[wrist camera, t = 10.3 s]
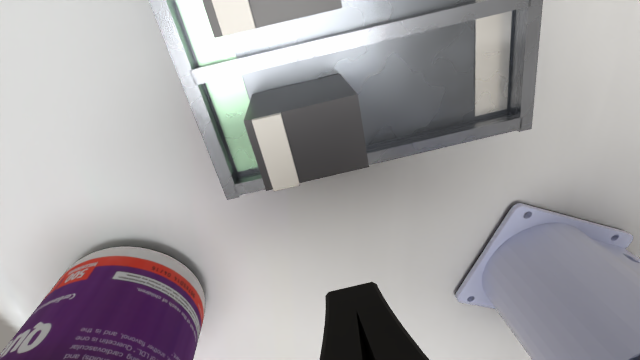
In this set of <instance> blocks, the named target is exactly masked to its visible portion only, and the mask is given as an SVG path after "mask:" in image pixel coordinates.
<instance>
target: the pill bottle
mask: <svg viewBox="0 0 640 360" xmlns="http://www.w3.org/2000/svg"><path fill="white" fill-rule="evenodd" d="M204 313H205V296H204V292H203V289H202V287H201V285H200V283H199V281H198V279H197V278H196V276H195V275H194V274H193V273H192V272H191V271H190V270H189V269H188V268H187V267H186V266H185V265H183V264H182V263H181V262H179V261H178V260H176V259H174V258H172V257H170V256H168V255H166V254H163V253H161V252H158V251H154V250H150V249H145V248H139V247H113V248H107V249H103V250H99V251H96V252H93V253H91V254H89V255H87V256H85V257H83V258H81V259H80V260H78V261H77V262H76V263H74V264H73V265H72V266H71V267H70V268H69V269H68V270H67V271H66V272H65V273H64V275H63V276H62V277H61V278H60V279H59V281H58V282H57V283H56V285H55V286H54V287H53V288H52V290H51V291H50V292H49V293H48V295H47V296H46V297H45V298H44V300H43V301H42V302H41V304H40V305H39V306H38V307H37V309H36V310H35V311H34V312H33V314H32V315H31V316H30V317H29V319H28V320H27V321H26V322H25V324H24V325H23V326H22V327H21V329H20V330H19V331H18V333H17V334H16V335H15V336H14V338H13V339H12V340H11V341H10V343H9V344H8V345H7V346H6V348H5V349H4V350H3V351H2V352H1V354H0V360H193V358H194V354H195V350H196V346H197V342H198V338H199V334H200V331H201V327H202V323H203V318H204Z"/></svg>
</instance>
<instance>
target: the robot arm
mask: <svg viewBox="0 0 640 360" xmlns="http://www.w3.org/2000/svg"><path fill="white" fill-rule="evenodd" d="M526 212H527V213H526ZM525 213H526V214H525ZM524 214H525V215H524ZM632 240H633V235H631V234H630V233H628V232H626V231H623V230H619V229H615V228H611V227H608V226H604V225H600V224H597V223H593V222H589V221H585V220H582V219H578V218H574V217H571V216H567V215H563V214H559V213H556V212H552V211H548V210H545V209H541V208H537V207H533V206H530V205H526V204H522V203H518V204H515V205H514V206H512V208H511V209H510V210H509V212H508V213H507V215H506V217H505V218H504V220H503V221H502V223H501V224H500V226H499V227H498V229H497V230H496V232H495V234H494V235H493V237H492V238H491V240H490V241H489V243H488V244H487V246H486V247H485V249H484V251H483V252H482V254H481V255H480V257H479V258H478V260H477V261H476V263H475V264H474V266H473V268H472V269H471V271H470V272H469V274H468V275H467V277H466V278H465V280H464V281H463V283H462V285H461V286H460V288H459V289H458V291H457V292H456V294H455V297H456V299H457V300H458V301H459V302H461V303H466V304H472V305H478V306H483V307H489V308H494V309H497V311H498V312H499V314H500V315H501V317H502V318H503V319H504V321H505V322H506V324H507V325H508V326H509V328H510V329H511V331H512V332H513V333H514V335H515V336H516V338H517V339H518V340H519V342H520V343H521V345H522V346H523V347H524V349H525V350H526V352H527V353H528V355H529V356H530V357H531V359H532V360H640V259H639V258H637V257H636V256H635V255H633V254H632V253H630V252H629V251H628V250H626V248H627V247H628V245H629V244H630V243H631V242H632ZM320 360H429V359H428V358H427V356H426V355H425V354H424V353H423V352H422V350H421V349H420V348H419V346H418V345H417V344H416V343H415V341H414V340H413V339H412V338H411V336H410V335H409V334H408V332H407V331H406V330H405V328H404V327H403V326H402V324H401V323H400V322H399V320H398V319H397V317H396V316H395V314H394V313H393V311H392V310H391V308H390V307H389V305H388V304H387V302H386V301H385V299H384V297H383V296H382V294H381V292H380V290H379V288H378V286H377V284H375V283H373V282H370V283H365V284H361V285H357V286H353V287H348V288H344V289H340V290H335V291H331V292H328V294H327V295H326V315H325V327H324V335H323V343H322V349H321V355H320Z"/></svg>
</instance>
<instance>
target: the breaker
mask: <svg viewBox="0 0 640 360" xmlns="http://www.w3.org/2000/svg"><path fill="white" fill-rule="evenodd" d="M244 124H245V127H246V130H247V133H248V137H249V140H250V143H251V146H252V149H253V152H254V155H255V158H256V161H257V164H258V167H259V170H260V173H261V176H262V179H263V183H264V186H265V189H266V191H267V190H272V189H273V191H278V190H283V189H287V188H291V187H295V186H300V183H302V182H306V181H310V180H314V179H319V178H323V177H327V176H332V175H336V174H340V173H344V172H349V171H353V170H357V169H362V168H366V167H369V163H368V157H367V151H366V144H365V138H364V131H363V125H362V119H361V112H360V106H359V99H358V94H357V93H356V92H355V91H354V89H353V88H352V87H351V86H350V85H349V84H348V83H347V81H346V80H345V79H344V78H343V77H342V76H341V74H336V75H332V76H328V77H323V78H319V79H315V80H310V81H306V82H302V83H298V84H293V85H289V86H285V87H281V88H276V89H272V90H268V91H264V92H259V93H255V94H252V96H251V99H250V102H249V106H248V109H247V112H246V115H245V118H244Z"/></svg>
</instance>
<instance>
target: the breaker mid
mask: <svg viewBox="0 0 640 360" xmlns="http://www.w3.org/2000/svg"><path fill="white" fill-rule="evenodd" d="M202 2H203V5H204V8H205V11H206V14H207V17H208V20H209V23H210V26H211V29H212V32H213V35H214V38H218V37H222V36H227V35H231V34H236V33H240V32H244V31H248V30H253V29H256V28H260V27H264V26H268V25H273V24H277V23H281V22H285V21H290V20H294V19H298V18H302V17H307V16H311V15H315V14H319V13H323V12H328V11H332V10H336V9H340V8H342V3H341V0H202Z"/></svg>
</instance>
